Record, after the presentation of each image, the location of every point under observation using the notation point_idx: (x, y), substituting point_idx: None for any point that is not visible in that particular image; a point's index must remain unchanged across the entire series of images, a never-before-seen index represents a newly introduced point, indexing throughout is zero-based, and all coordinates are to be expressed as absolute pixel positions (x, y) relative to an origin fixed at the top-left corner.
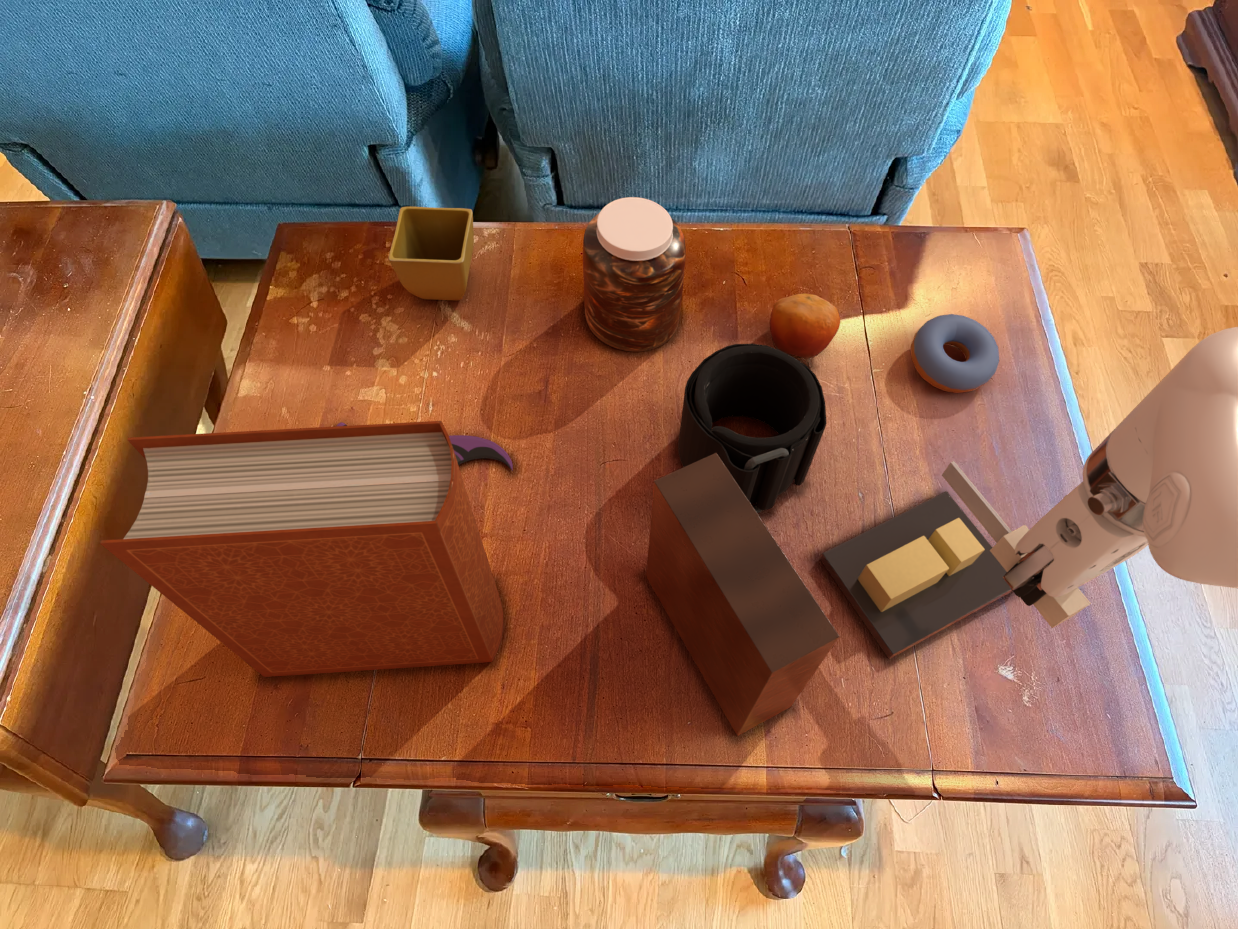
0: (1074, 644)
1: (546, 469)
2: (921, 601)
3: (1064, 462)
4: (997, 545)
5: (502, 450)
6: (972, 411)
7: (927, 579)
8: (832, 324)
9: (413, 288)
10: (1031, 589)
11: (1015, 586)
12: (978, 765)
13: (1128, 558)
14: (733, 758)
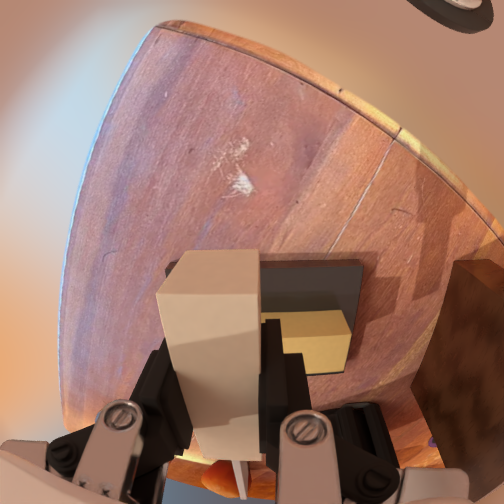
0: (146, 179)
1: (423, 434)
2: (292, 302)
3: (71, 333)
4: None
5: (429, 442)
6: (126, 395)
7: (295, 338)
8: (215, 484)
9: None
10: (305, 393)
11: (468, 488)
12: (348, 114)
13: (17, 481)
14: (497, 245)
